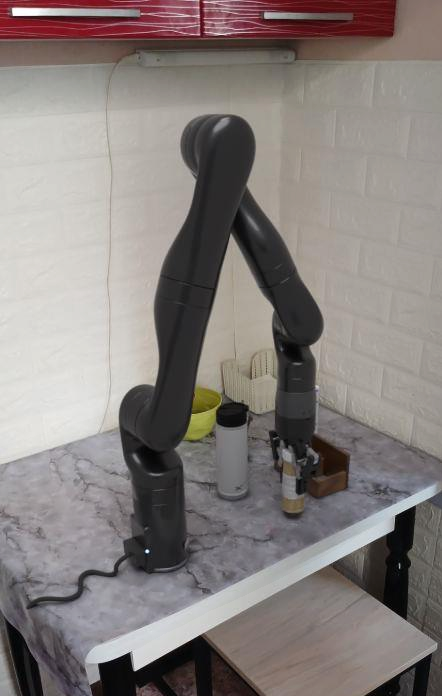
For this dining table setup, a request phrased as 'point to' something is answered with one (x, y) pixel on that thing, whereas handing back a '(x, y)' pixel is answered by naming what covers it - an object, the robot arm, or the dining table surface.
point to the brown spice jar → (290, 485)
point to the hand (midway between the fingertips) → (293, 487)
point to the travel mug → (232, 450)
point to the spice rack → (327, 468)
